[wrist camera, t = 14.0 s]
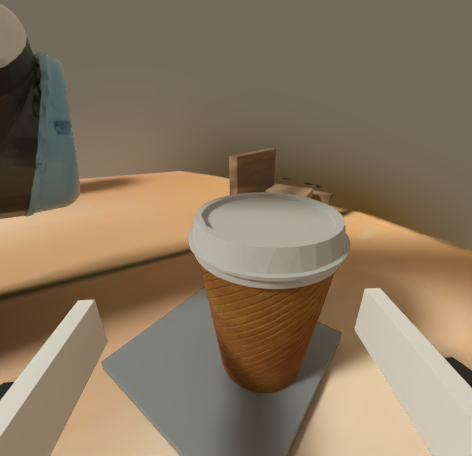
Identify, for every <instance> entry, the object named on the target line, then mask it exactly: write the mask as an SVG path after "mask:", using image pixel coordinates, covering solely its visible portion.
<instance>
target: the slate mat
mask: <svg viewBox="0 0 472 456" xmlns="http://www.w3.org/2000/svg"><path fill="white" fill-rule="evenodd" d="M206 291H207V290H206V289H205V287H204V288H202V289H201V290H199V291H198V292H197V293H195V294H194V295H193V296H191V297H190V298H188V299H187V300H186V301H184V302H183V303H182V304H180V305H179V306H177V307H176V308H175V309H173V310H172V311H171V312H169V313H168V314H166V315H165V316H164V317H162V318H161V319H159V320H158V321H157V322H155V323H154V324H153V325H151V326H150V327H148V328H147V329H146V330H144V331H143V332H142V333H140V334H139V335H137V336H136V337H135V338H133V339H132V340H131V341H129V342H128V343H126V344H125V345H124V346H122V347H121V348H120V349H118V350H117V351H115V352H114V353H113V354H111V355H110V356H109V357H107V358H106V359H104V360H103V361H102V362H101V364H102V366H103V369H104V370H105V371H106V373H107V374H108V375H109V376H110V377H111V378H112V379H113V380H114V382H115V383H116V384H117V385H118V386H119V387H120V388H121V389H122V391H123V392H124V393H125V394H126V395H127V396H128V397H129V398H130V400H131V401H132V402H133V403H134V404H135V405H136V406H137V407H138V409H139V410H140V411H141V412H142V413H143V414H144V415H145V416H146V418H147V419H148V420H149V421H150V422H151V423H152V424H153V426H154V427H155V428H156V429H157V430H158V431H159V432H160V433H161V435H162V436H163V437H164V438H165V439H166V440H167V441H168V442H169V444H170V445H171V446H172V447H173V448H174V449H175V450H176V451H177V453H178V454H179V455H180V456H287V455H288V453H289V450H290V448H291V446H292V444H293V442H294V439H295V437H296V435H297V433H298V431H299V428H300V426H301V424H302V422H303V420H304V417H305V415H306V413H307V411H308V409H309V406H310V404H311V402H312V400H313V398H314V396H315V393H316V391H317V389H318V387H319V385H320V382H321V380H322V378H323V376H324V374H325V371H326V369H327V367H328V365H329V363H330V360H331V358H332V356H333V354H334V352H335V349H336V347H337V345H338V343H339V341H340V337H341V332H338V331H336V330H334V329H332V328H330V327H328V326H326V325H323V324H321V323H319V322H317V323H316V326H315V329H314V332H313V335H312V337H311V340H310V343H309V346H308V349H307V351H306V354H305V357H304V360H303V363H302V365H301V369H300V372H299V374H298V376H297V377H296V379H295V380H294V381H293V382H292V384H290V385H289V386H287V387H286V388H284V389H282V390H280V391H276V392H272V393H257V392H252V391H249V390H247V389H244V388H242V387H241V386H239V385H238V384H236V383H235V382H234V381H233V380H232V379H231V378H230V377H229V375H228V374H227V372H226V371H225V369H224V366H223V364H222V359H221V354H220V349H219V347H218V342H217V337H216V331H215V329H214V324H213V318H212V317H211V311H210V307H209V306H210V305H209V302H208V297H207V293H206Z"/></svg>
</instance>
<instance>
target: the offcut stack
mask: <svg viewBox="0 0 472 456" xmlns="http://www.w3.org/2000/svg"><path fill="white" fill-rule="evenodd" d="M265 192H268V193H283V194H291V195H298V196H303V197H307V198H310V199H312V195H313V189H311V188H303V187H295V186H286V185H279V184H275V185H274V186H272V187H270V188H269V189H267V190H266V191H265Z"/></svg>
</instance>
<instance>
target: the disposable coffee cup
mask: <svg viewBox="0 0 472 456" xmlns="http://www.w3.org/2000/svg"><path fill="white" fill-rule="evenodd" d="M188 240H189V246H190V249H191V251H192V252H193V253H194V255H195V257H196V259H197V260H198V262H199V263H200V266H201V267H200V268H201V272H202V274H203V275H202V276H203V280H204V282H205V283H204V285H205V289H206V290H207V291H206V293H207V297H208V302H209V305H210V306H209V307H210V311H211V317H212V318H213V324H214V329H215V331H216V337H217V342H218V347H219V349H220V354H221V359H222V364H223V366H224V369H225V371H226V372H227V374H228V375H229V377H230V378H231V379H232V380H233V381H234V382H235V383H236V384H238V385H239V386H241V387H242V388H244V389H247V390H249V391H252V392H257V393H272V392H276V391H280V390H282V389H284V388H286V387H287V386H289V385H290V384H292V382H293V381H294V380H295V379H296V377H297V376H298V374H299V372H300V369H301V365H302V363H303V360H304V357H305V354H306V351H307V349H308V346H309V343H310V340H311V337H312V335H313V332H314V329H315V326H316V323H317V320H318V318H319V315H320V312H321V309H322V306H323V304H324V301H325V298H326V295H327V293H328V289H329V287H330V284H331V281H332V278H333V275H334V272H335V271H336V270H337V269H339V267H340V265H341V264H342V263H343V262H344V260H345V259H346V258H347V256H348V255H349V252H350V240H349V238H348V236H347V234H346V233H345V222H344V218H343V216H342V215H341V214H340V213H339V212H338V211H337V210H336V209H334V208H333V207H331V206H329V205H327V204H325V203H323V202H320V201H317V200H314V199H310V198H307V197H303V196H298V195H291V194H283V193H268V192H257V193H242V194H234V195H229V196H225V197H221V198H217V199H215V200H212V201H210V202H208V203H206V204H204V205H203V206H202V207H200V208H199V209H198V210H197V212H196V214H195V219H194V226H193V227H192V228H191V230H190V233H189V235H188Z"/></svg>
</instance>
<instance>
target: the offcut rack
mask: <svg viewBox="0 0 472 456" xmlns="http://www.w3.org/2000/svg"><path fill="white" fill-rule="evenodd" d="M275 155H276V149H264V150H259V151H254V152H250V153H244V154H239V155H234V156H230V157H229V166H230V168H229V169H230V170H229V171H230V195H234V194H242V193H257V192H265V191H266V190H267V189H269V188H270V187H272V186H274V185H275V184H274V173H275ZM332 196H333V194H332V193H326V192H320V191H314V190H313V195H312V199H314V200H317V201H320V202H323V203H325V204H327V205H329V206H331V202H332Z"/></svg>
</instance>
